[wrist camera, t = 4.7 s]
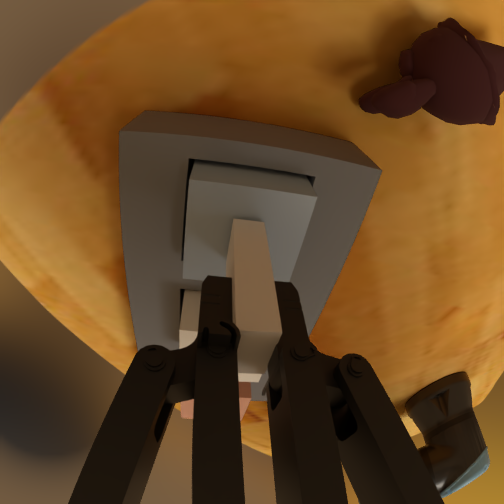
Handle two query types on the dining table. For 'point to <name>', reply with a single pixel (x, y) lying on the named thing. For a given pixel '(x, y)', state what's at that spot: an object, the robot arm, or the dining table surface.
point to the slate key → (244, 215)
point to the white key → (190, 327)
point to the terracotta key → (243, 400)
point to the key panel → (175, 208)
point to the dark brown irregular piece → (444, 79)
